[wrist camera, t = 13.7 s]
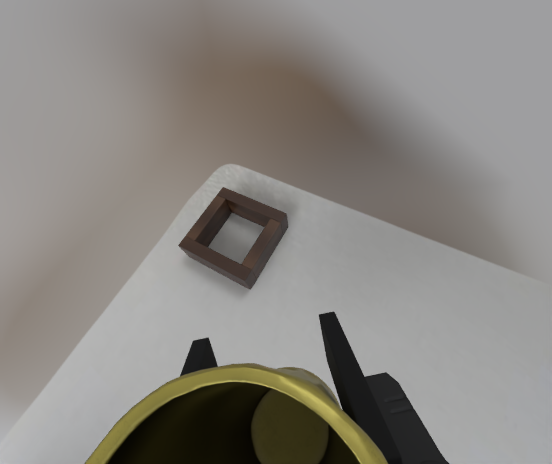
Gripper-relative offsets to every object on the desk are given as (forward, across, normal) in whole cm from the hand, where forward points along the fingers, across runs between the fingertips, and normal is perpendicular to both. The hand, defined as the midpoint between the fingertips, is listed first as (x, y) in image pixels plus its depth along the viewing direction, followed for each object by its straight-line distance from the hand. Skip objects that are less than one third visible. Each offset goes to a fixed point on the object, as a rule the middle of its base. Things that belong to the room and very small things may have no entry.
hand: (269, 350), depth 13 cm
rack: (+24, -4, -2) cm, 25 cm away
